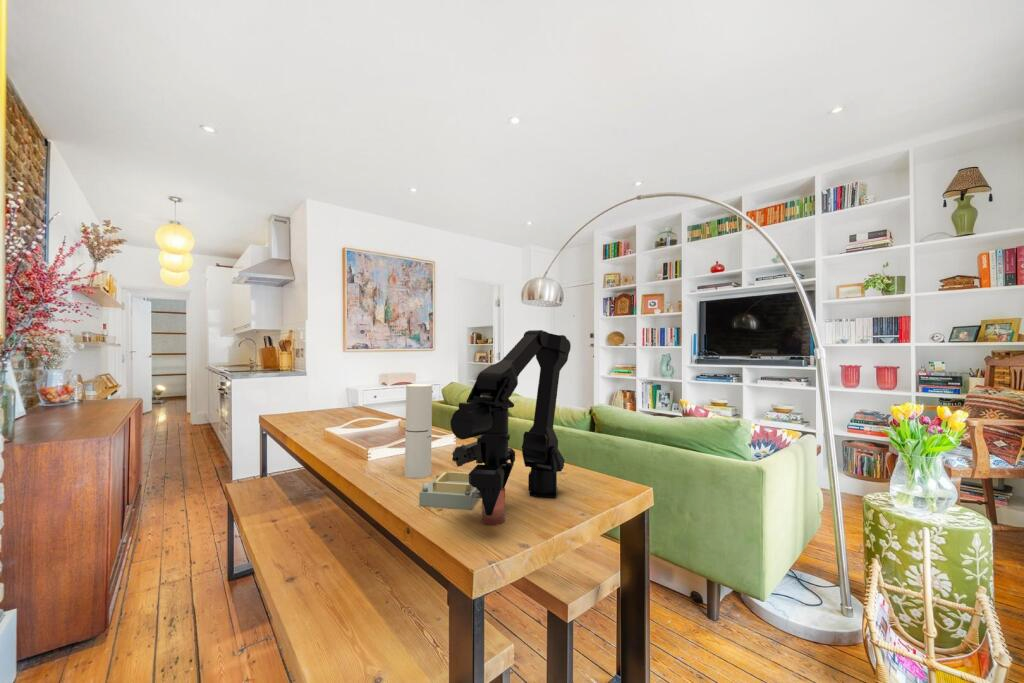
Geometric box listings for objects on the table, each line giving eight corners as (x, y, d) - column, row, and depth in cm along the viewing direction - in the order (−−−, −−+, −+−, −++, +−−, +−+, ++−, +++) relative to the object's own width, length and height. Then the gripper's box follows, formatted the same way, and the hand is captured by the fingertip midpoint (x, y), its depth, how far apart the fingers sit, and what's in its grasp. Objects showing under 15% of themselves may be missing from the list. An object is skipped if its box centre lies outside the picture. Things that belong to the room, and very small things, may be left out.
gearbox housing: (482, 492, 101) (482, 472, 102) (470, 509, 91) (471, 486, 91) (429, 488, 104) (430, 468, 104) (412, 505, 93) (412, 483, 93)
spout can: (506, 516, 87) (507, 483, 87) (502, 526, 82) (502, 491, 83) (475, 514, 88) (475, 481, 88) (469, 523, 84) (469, 489, 84)
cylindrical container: (400, 474, 115) (401, 384, 116) (422, 469, 120) (423, 383, 121) (413, 480, 110) (414, 386, 110) (435, 474, 115) (437, 385, 115)
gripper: (468, 421, 96) (468, 488, 96) (442, 439, 78) (441, 522, 77) (515, 423, 94) (515, 491, 94) (500, 441, 76) (499, 526, 76)
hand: (493, 506), depth 85 cm, fingers open, 9 cm apart
